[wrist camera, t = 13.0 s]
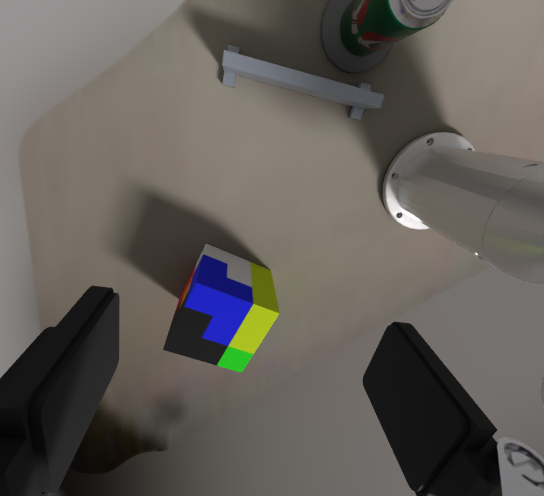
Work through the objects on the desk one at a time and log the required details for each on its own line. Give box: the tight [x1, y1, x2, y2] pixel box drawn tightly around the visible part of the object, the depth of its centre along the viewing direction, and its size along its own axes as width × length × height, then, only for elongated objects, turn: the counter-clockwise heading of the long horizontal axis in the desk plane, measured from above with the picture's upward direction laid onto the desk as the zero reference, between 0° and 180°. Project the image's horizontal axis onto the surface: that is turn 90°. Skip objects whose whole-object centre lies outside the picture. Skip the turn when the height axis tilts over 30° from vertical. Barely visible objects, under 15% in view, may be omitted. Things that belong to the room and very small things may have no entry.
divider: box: [222, 44, 385, 120], centre depth 29 cm, size 16×4×5 cm, turn 77°
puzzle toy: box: [163, 244, 280, 373], centre depth 37 cm, size 10×10×10 cm
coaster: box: [321, 0, 393, 73], centre depth 30 cm, size 8×8×1 cm
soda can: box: [340, 0, 453, 57], centre depth 24 cm, size 5×5×12 cm
